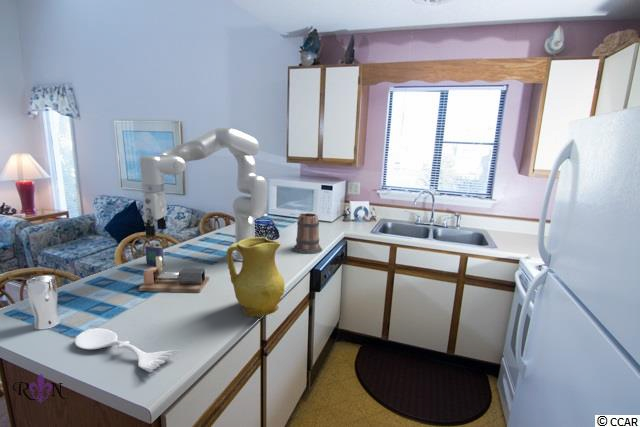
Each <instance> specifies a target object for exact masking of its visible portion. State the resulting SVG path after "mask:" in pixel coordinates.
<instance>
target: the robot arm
mask: <svg viewBox="0 0 640 427" xmlns="http://www.w3.org/2000/svg"><path fill="white" fill-rule="evenodd" d="M226 148H227V149H228V151H229V152H230V154H232V155H233V157H234V158H235V160H236V162H237V175H236V176H237V179H236V187H237V190H238V192H240V193H241V194H242V193H243V194H246V195H240V196H237V197H236V198H234V200H233V203H232V210H233V215H234V227H235V233H234V234H235V243H238V242H239V241H241V240H243V239H247V238H253V237H255V236H256V234H255V232H256V231H255V230H256V229H255V224H256V223H255V222H254V220H255V219H256V218H263V217H262V216H263V215H264V214H266V211H267V202H268V190H269V189H268V182H267V180H266V179H265V177H264V176H261V175H258V174H257V173H256V171H257V170H256V167H257V166H256V160H255V158H254V156H255V155H257V154H258V153H259V151H260V144H259V141H258V140H257V139H256V138H255V137H253V136H251V135H249V134H248V133H244V132H242V131H240V130H237V129H235V128H232V127H218V128H215V129H212V130H210V131H208V132H206V133H204V134H203V135H200V136H198V137H197V138H195V139H193V140H189V141H187V142H184V143H181V144H179V145H176V146H174V147H170V148H169V149H166V150H165V151H163V152H161V153H158V154H157V155H142V156H141V157H139V166H140V168H139V169H140V180H141V181H140V182H141V191H142V197H143V199H142V201H143V202H142V206H143V207H142V209H143V214H142V220H143V224H144V227H145V228H144V229H145V236H146V237H155V236H156V226H155V221H156V225H157V230H165V231H166V229H167V220H166V219H167V215H168V207H167V200H166V194H165V181H164V175H169V176H170V175H171V176H178V175H181V174H183V173H184V172H185V171H186V168H187V167H186V163H189V162H191V161H192V162H193V161H199V160H203V159H206V158H208V157H210V156H212V155H213V154H215V153H216V152H218V151H220V150H221V149H226ZM247 195H250V196H247ZM232 258H233V261H238V262H243V257H242V255H241V254H240V252H239V251H236V250H235V253H233V254H232Z"/></svg>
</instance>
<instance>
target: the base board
mask: <svg viewBox="0 0 640 427" xmlns="http://www.w3.org/2000/svg"><path fill="white" fill-rule="evenodd" d="M209 281H210V276H205V281H204V282H203V284H202V285H180V283H179V280H157V281H156V282H155V283H154V284H144V283H143V284H142V285H140V287H138V290H139V291H145V292H147V293H148V292H149V293H150V292H152V293H155V292H156V293H161V292H162V293H201V292H202V290H203V289H204V288H205V286H206V285H207V284H208V282H209ZM139 291H138V292H139Z"/></svg>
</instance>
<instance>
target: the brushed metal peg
mask: <svg viewBox="0 0 640 427" xmlns="http://www.w3.org/2000/svg"><path fill="white" fill-rule="evenodd" d="M155 268H156V270H157V272H154V273H153V277H154V280H179V272H180V271H179V272H178V271H177V272H175V271H174V272H173V271H171V272H170V271H163V270H164V269H163V266H162V256H156V266H155Z"/></svg>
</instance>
